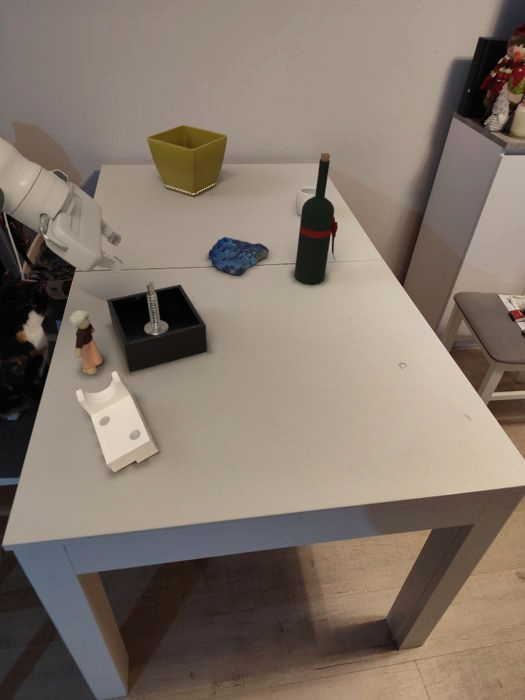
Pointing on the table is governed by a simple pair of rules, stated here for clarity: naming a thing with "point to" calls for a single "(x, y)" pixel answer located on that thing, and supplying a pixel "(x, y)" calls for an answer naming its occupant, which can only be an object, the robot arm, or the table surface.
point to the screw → (154, 314)
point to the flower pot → (188, 157)
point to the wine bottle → (316, 231)
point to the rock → (236, 255)
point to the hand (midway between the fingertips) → (119, 254)
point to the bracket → (118, 424)
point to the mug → (304, 196)
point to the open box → (154, 350)
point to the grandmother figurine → (86, 342)
